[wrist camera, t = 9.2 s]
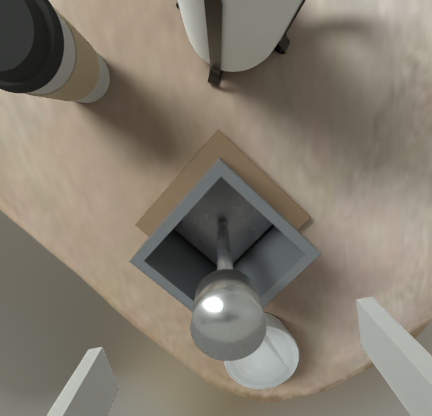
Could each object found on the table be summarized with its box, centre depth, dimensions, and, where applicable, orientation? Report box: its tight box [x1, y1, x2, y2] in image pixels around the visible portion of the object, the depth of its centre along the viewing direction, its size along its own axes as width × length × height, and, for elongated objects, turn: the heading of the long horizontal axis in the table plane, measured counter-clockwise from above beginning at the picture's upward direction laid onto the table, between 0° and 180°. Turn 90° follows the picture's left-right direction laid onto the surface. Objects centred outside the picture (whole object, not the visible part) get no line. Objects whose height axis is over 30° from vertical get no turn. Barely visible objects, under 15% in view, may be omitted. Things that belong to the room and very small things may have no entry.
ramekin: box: [224, 312, 299, 389], centre depth 41 cm, size 11×11×5 cm
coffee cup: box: [0, 0, 110, 103], centre depth 28 cm, size 9×9×15 cm
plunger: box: [174, 177, 272, 361], centre depth 26 cm, size 10×10×22 cm
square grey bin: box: [129, 130, 321, 312], centre depth 32 cm, size 18×18×14 cm
